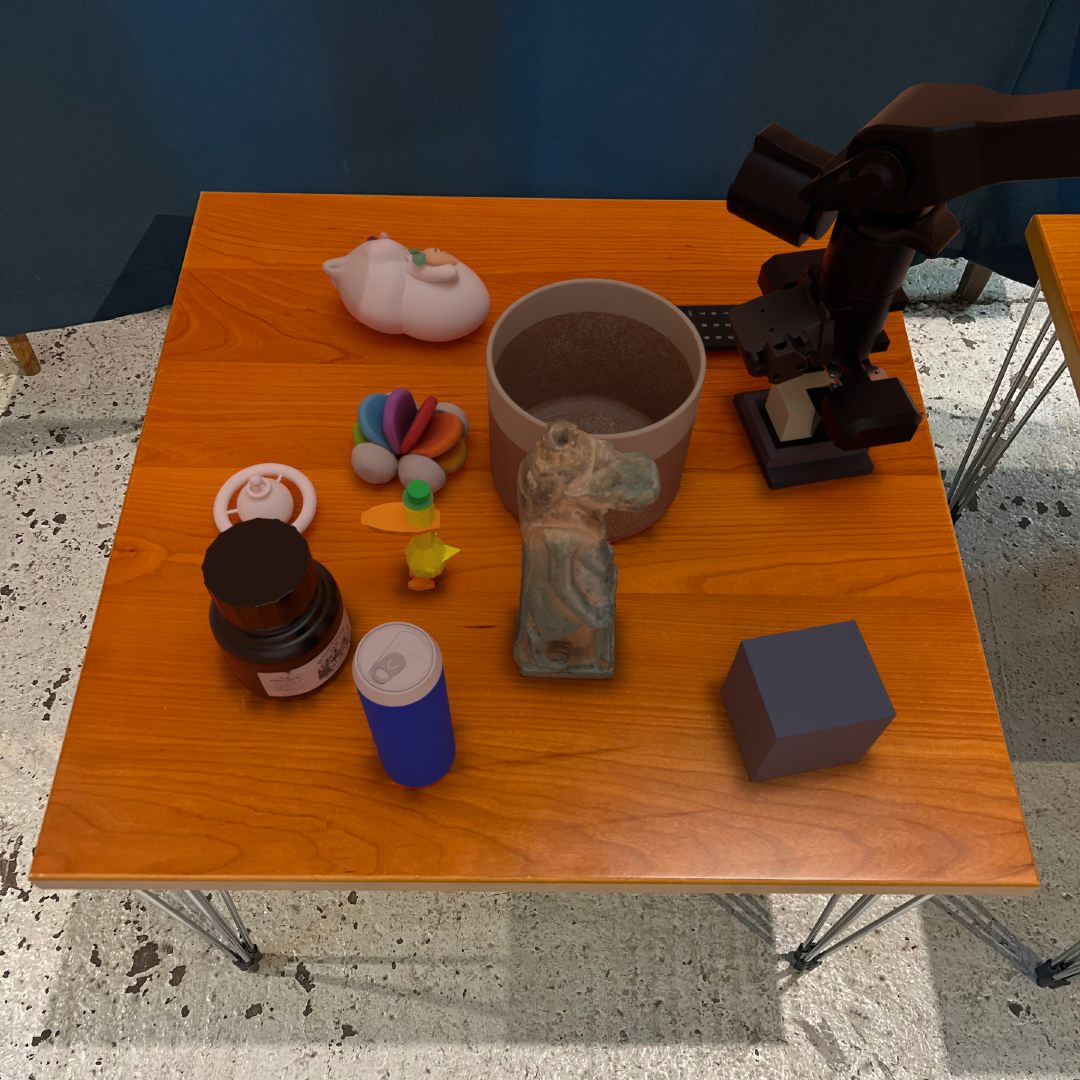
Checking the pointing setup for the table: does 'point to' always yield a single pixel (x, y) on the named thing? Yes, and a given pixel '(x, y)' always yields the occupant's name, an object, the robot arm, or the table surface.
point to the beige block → (794, 405)
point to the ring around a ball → (265, 496)
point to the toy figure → (414, 532)
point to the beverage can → (406, 702)
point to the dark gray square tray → (794, 449)
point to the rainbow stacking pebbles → (408, 439)
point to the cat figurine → (409, 290)
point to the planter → (595, 381)
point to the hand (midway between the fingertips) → (807, 416)
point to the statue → (573, 549)
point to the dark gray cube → (805, 700)
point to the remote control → (712, 326)
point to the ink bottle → (275, 610)
